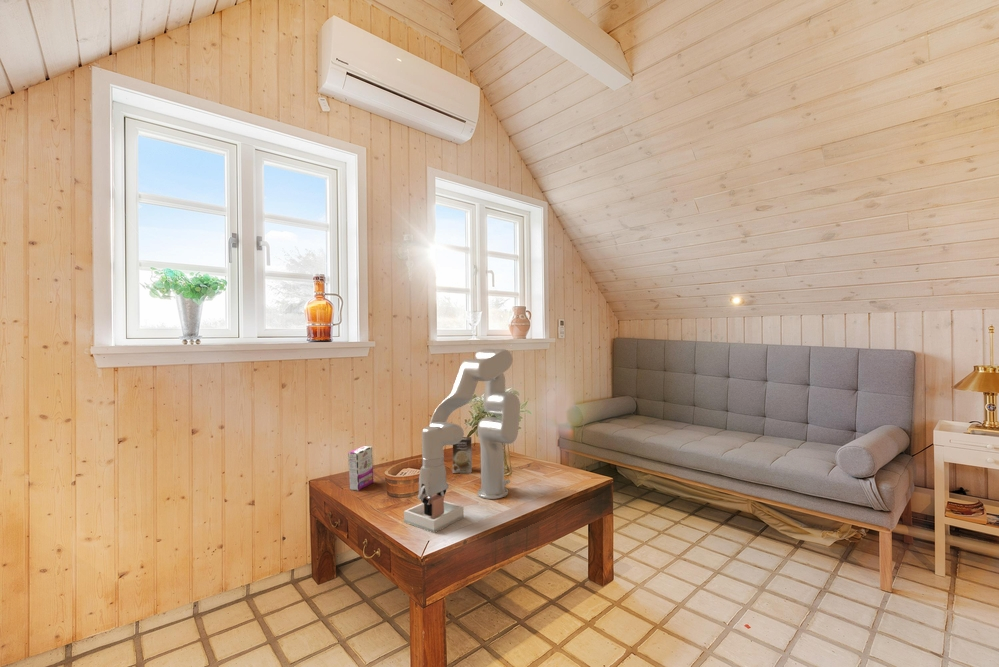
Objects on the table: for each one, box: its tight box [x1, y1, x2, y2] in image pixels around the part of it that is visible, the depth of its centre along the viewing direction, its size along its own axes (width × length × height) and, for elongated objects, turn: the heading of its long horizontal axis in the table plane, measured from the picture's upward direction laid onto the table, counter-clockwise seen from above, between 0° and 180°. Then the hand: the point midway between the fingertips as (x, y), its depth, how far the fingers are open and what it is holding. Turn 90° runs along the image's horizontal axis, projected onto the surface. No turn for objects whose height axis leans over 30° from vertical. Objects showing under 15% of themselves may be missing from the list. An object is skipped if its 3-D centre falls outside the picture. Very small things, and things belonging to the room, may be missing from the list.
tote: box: [403, 500, 465, 534], centre depth 161 cm, size 15×15×4 cm
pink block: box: [424, 494, 445, 518], centre depth 161 cm, size 5×5×6 cm
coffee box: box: [452, 436, 473, 474], centre depth 215 cm, size 9×6×16 cm
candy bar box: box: [348, 445, 374, 491], centre depth 198 cm, size 11×5×16 cm, turn 161°
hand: (433, 511), depth 161 cm, fingers closed on pink block, 5 cm apart
